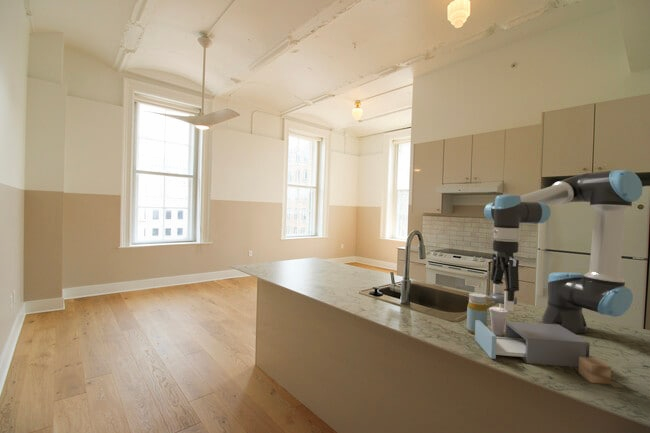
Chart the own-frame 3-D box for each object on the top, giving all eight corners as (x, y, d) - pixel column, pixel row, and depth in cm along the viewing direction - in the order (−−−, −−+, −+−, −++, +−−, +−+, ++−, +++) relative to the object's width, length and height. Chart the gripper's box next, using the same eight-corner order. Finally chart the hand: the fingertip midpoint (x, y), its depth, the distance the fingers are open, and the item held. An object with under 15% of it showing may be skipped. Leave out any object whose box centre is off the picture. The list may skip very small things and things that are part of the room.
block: (596, 374, 91) (597, 358, 91) (610, 384, 86) (611, 366, 86) (578, 373, 92) (579, 356, 92) (590, 382, 87) (591, 365, 87)
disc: (486, 297, 109) (486, 292, 109) (509, 298, 108) (510, 294, 108) (495, 303, 101) (496, 299, 101) (521, 305, 100) (521, 300, 100)
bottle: (488, 336, 117) (490, 298, 117) (469, 334, 119) (470, 296, 118) (483, 329, 124) (484, 293, 124) (464, 327, 125) (466, 291, 125)
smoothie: (506, 338, 116) (508, 301, 116) (487, 334, 119) (489, 298, 119) (507, 332, 121) (508, 297, 121) (488, 329, 125) (490, 295, 124)
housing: (557, 346, 110) (558, 324, 110) (588, 367, 95) (589, 342, 95) (504, 342, 112) (505, 321, 112) (526, 363, 97) (527, 338, 97)
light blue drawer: (526, 343, 111) (527, 323, 111) (550, 363, 97) (551, 340, 96) (474, 339, 113) (475, 320, 113) (491, 358, 99) (492, 336, 99)
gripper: (482, 237, 115) (479, 296, 115) (508, 243, 94) (505, 315, 95) (503, 237, 114) (500, 298, 115) (534, 244, 93) (531, 317, 94)
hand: (502, 306), depth 105 cm, fingers closed on disc, 8 cm apart
